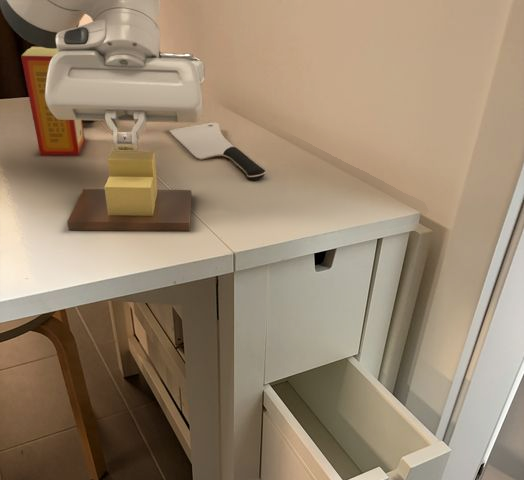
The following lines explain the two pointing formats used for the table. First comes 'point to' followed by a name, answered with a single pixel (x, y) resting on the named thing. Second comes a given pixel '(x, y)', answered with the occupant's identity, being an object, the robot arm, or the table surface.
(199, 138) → the kitchen cleaver
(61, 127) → the baking soda box
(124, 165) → the base
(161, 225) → the butter board
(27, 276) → the table surface
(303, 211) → the table surface
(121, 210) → the block
